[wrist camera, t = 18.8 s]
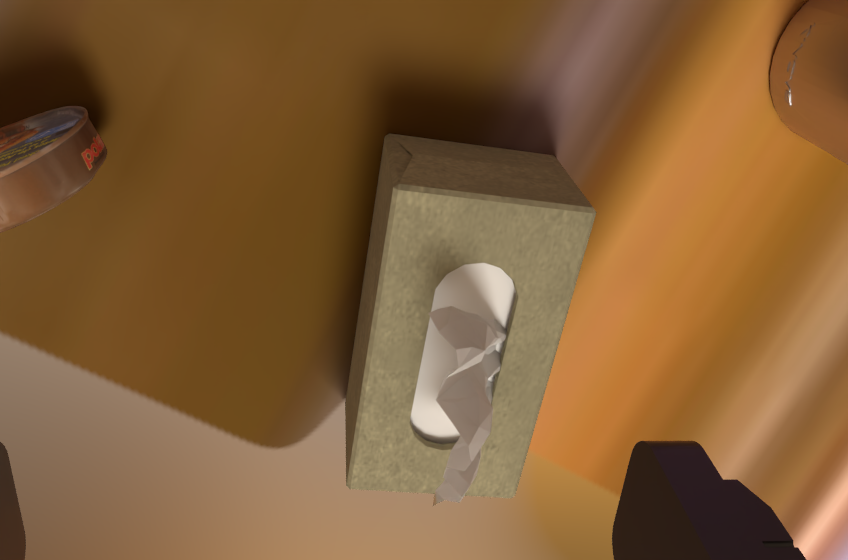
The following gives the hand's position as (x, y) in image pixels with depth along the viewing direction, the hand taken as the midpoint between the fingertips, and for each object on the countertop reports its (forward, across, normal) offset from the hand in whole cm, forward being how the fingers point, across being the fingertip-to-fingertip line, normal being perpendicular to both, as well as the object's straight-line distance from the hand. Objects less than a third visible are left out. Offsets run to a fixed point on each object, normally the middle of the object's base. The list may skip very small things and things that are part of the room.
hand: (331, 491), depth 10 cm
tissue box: (+34, -7, +15) cm, 37 cm away
